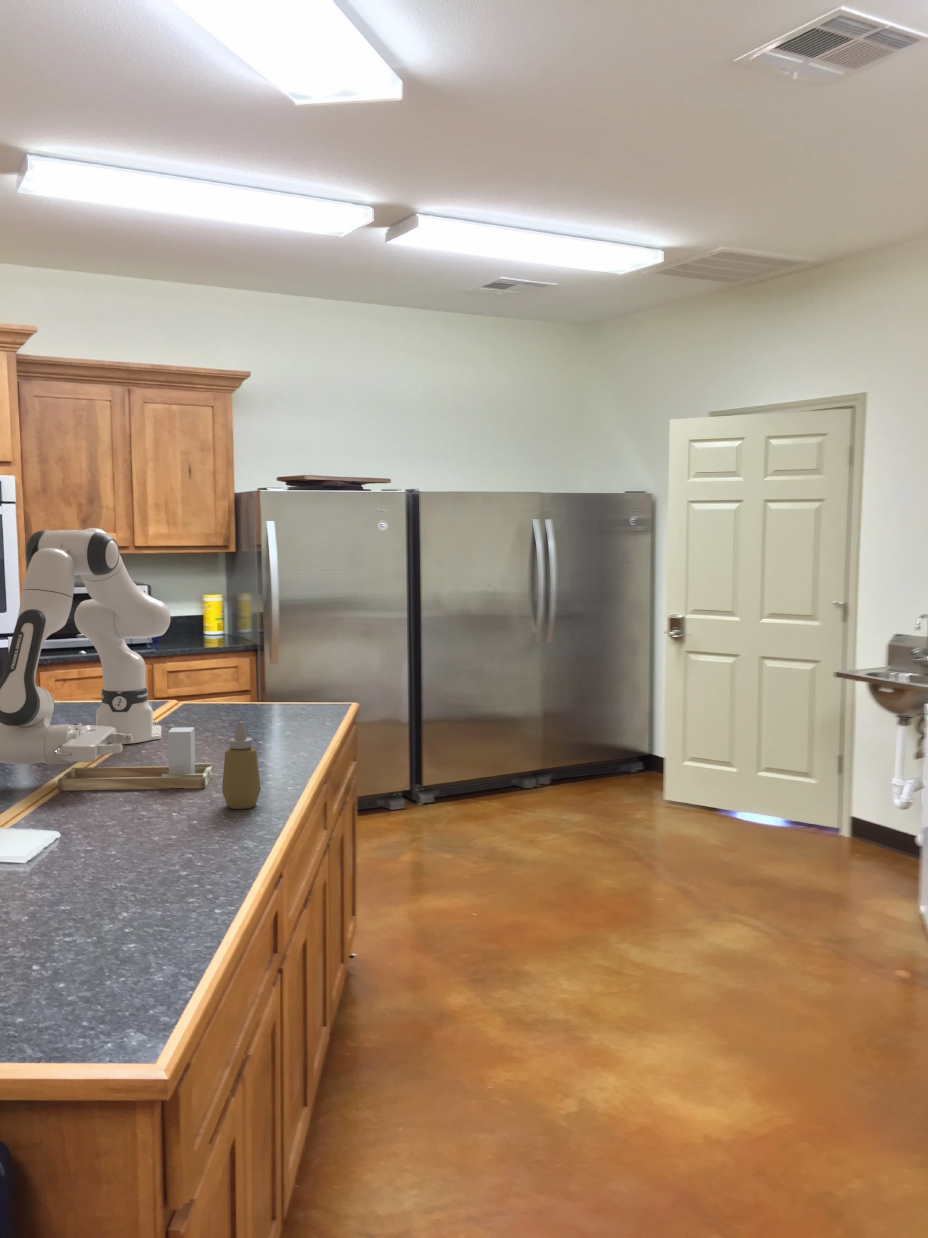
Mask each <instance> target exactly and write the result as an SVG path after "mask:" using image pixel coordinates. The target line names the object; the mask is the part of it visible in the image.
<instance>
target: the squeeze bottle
mask: <svg viewBox="0 0 928 1238" xmlns="http://www.w3.org/2000/svg"><path fill="white" fill-rule="evenodd" d="M246 732H247V731H246V728H245V724H244V721H237V725H236V729H235V734H234V737H232V738H230V739H229V748H228V749H227V750H226V751H224V760H223V761H224V764H223V775H222V787H221V792H222V796H223V797H224V798H223V799H224V801H225V803H226V805H227V807H228V808H230V809H234V810H245V809H251V808H254V807H256V805H257V802H258V799H259V795H260V792H261V790H262V789H261V780H260V770H259V762H258V761H259V759H258V753H257V750H256V749H255V748H254V747H253V739H252V738H251V737H248V736H247V733H246Z"/></svg>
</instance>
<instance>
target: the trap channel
mask: <svg viewBox="0 0 928 1238" xmlns="http://www.w3.org/2000/svg"><path fill="white" fill-rule="evenodd" d="M213 767H214V766H213V765H212V764H211V762H195V774H169V765H167V766H166V765H165V766H164V765H162V766H160V765H159V766H156V765H155V766H153V765H152V766H148V765H147V766H99V767H98V766H97V767H96V766H93V767H91V766H89V767H85V766H84V767H71V769H69V770H68V771H67V772H65V773H64V774H63V775H61V777H59V778H58V779H57V787H58V788H57V789H58V790H57V791H60V792H61V791H112V790H113V791H114V790H115V791H116V790H118V791H119V790H121V791H122V790H126V791H127V790H170V788H184V789H206V788H207V786H208V784H209V783H210V781H211V779H212V778H213V775H214V773H213V772H214V770H213V769H214V768H213ZM205 787H206V788H205Z"/></svg>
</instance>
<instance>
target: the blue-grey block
mask: <svg viewBox="0 0 928 1238" xmlns="http://www.w3.org/2000/svg"><path fill="white" fill-rule="evenodd" d="M195 730H196V729H195V727H192V726H191V727H189V726H188V727H172V728H170V729H169V731H168V732H167V740H168V741H167V743H168V746H167V749H168V751H167V754H168V766H169V774H195V763H196V748H195V747H196V743H195V742H196V741H195V740H196V739H195V737H196V736H195V733H196V732H195Z"/></svg>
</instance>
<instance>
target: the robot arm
mask: <svg viewBox="0 0 928 1238" xmlns="http://www.w3.org/2000/svg"><path fill="white" fill-rule="evenodd" d="M24 552H25V553H24V554H25V558H26V561H27V563H28V567H27V570H26V573H25V577H24V581H23V584H22V590H21V595H20V596H21V597H20V602H19V609H18V614H17V620H16V624H15V626H14V630H13V634H12V636H11V642H10V645H9V649H8V654H7V657H6V662H5V665H4V666H5V667H4V668H3V669H4V670H3V674H2V675H1V678H0V763H1V764H6V765H7V764H8V765H33V764H37V763H40V764H41V763H42V764H47V765H67V764H68V765H70V764H73V763H75V762H76V763H77V762H78V763H90V762H94V761H96V760H98V758H99V757H100V756H105V755H106V756H107V755H111V754H121V753H122V751H123V745H124V744H125V745H128V744H137V743H142V742H148V741H154V740H160V739H162V725H159V724H157V722H156V720H154V710H153V708H152V706H151V704H150V703H149V701H148V700H149V691H148V686H147V685H146V663H145V660H144V658H143V657H142V655H140V654H139V653H137V652H136V651H134V650H131V649H130V647H129V646H128V645H127V643H126V640H125V639H144V640H145V639H151V638H156V637H160V636H163V635H164V634H165V633H166V632H167V631H168V629H169V627H170V625H171V613H170V609H169V608H168V606H167V605H166V603H164V601H162V600H159V599H157V598H154V597H153V596H151V595H149V594H148V593H147V592H145V591H143V589H141V588H140V587H139V586H138V585H137V584H136V583H135V582H134V581H133V579H132V578H131V577H130V574H129V573H128V570H127V567H126V565H125V563H124V562H123V558H122V556H121V554H120V547H119V544H118V541H117V540H116V539H115V538H114V536H112V535H110V534H108V533H107V532H106V531H104V530H102V529H101V528H98V527H97V528H96V527H90V528H89V527H88V528H85V529H83V530H81V529H69V530H68V529H59V530H57V529H56V530H51V529H44V530H39V531H35V532H34V533H32V535H31V536H30V537H29V538H28V539H27V542H26V545H25V549H24ZM75 576H80V578H81V580H82V583H83V585H84V586H85V589H86V591H87V593H88V594H87V595H89V597H90V599H84V600H83V601H81V602H79V604H78V606H77V607H76V609H75V611H74V616H73V617H74V623H75V627H76V629H77V631H78V632H79V633H80V634H81V635H83V636H84V637H85V638H87V639H88V640H89V642H91V643H92V645H93V647H94V649H95V650H96V652H97V654H98V657H99V659H100V664H101V673H102V689H101V695H100V696H101V703H102V704H101V705H100V707H98V708H97V709H96V712H95V715H96V716H95V717H96V718H95V725H94V724H93V725H92V724H89V725H87V724H86V725H83V724H82V723H81V722H73V723H69V724H52V722H53V718H54V713H55V705H56V704H55V699H54V697H53V695H52V693H50V691H48V690H47V689H46V688H43V687H41V686H39V685H36V674H37V670H38V666H39V665H38V664H39V661H40V660H39V659H40V657H41V652H42V648H43V645H44V642H45V641H46V640H47V638H48V637H50V635H52V634H54V633H57V632H58V631H60V630H61V629H63V628H64V627H65V626H66V624H67V621H68V619H69V617H70V614H71V610H72V605H73V601H74V599H73V598H74V592H75Z"/></svg>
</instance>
